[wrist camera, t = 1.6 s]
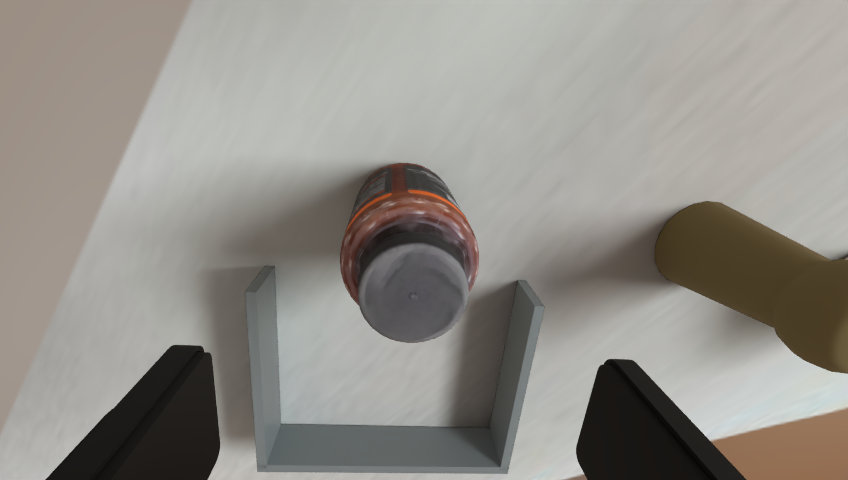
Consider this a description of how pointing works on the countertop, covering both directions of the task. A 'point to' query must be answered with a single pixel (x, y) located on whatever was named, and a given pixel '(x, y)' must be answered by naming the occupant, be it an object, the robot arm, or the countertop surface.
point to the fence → (385, 444)
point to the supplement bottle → (408, 254)
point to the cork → (761, 278)
